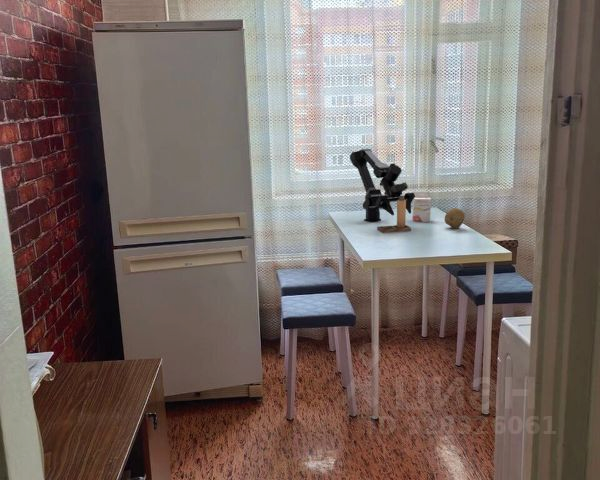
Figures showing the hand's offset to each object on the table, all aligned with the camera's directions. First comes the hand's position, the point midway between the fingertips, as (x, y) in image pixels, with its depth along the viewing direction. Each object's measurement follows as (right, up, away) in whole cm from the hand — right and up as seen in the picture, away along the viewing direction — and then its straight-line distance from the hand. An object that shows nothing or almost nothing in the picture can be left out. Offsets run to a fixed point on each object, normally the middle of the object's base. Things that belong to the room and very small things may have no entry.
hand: (402, 214), depth 290 cm
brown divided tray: (-3, -8, +2) cm, 9 cm away
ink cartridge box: (+13, -3, +23) cm, 27 cm away
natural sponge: (+25, -7, +4) cm, 26 cm away
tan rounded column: (0, -7, +2) cm, 8 cm away
